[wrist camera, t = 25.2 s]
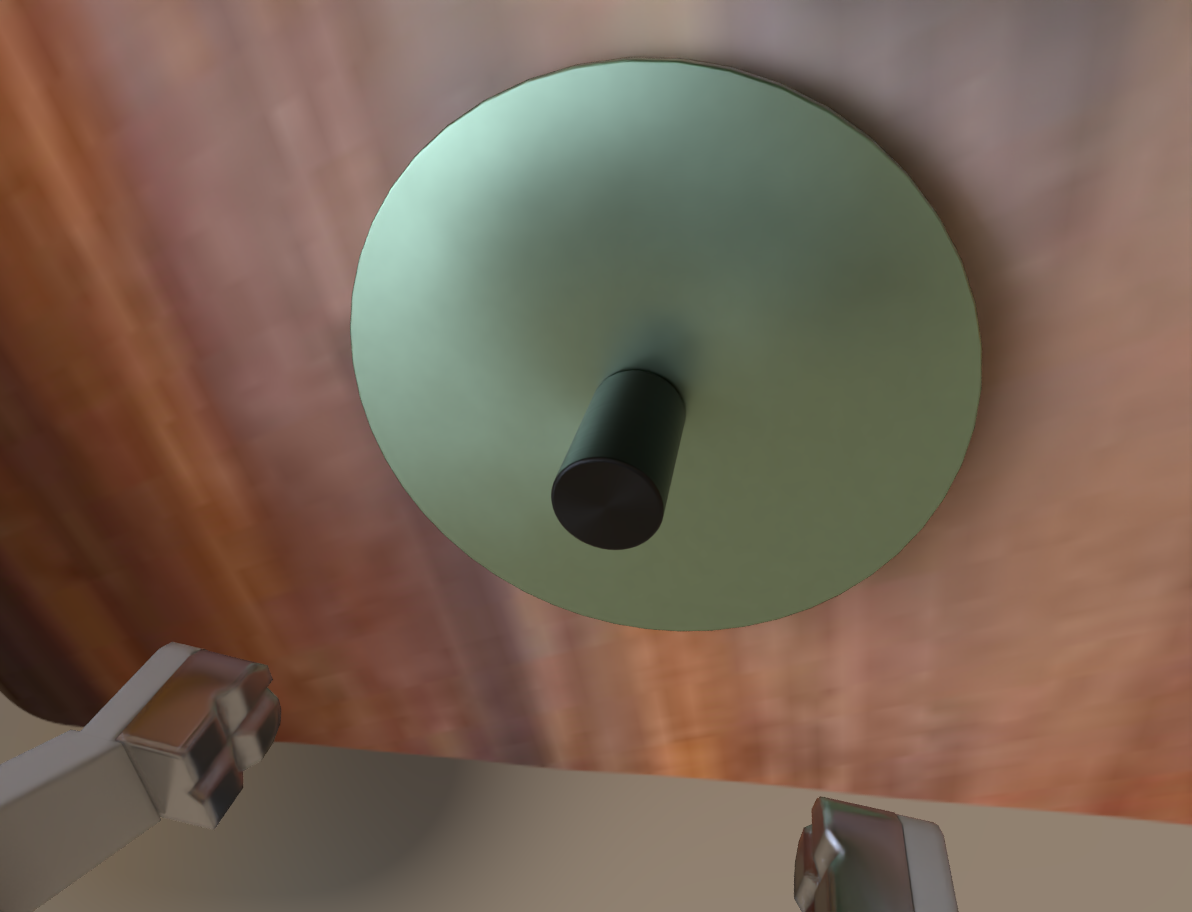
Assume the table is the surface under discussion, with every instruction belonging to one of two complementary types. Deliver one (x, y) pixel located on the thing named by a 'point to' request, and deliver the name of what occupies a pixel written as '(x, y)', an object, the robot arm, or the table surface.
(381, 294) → the lid
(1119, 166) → the table surface
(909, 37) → the table surface
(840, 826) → the robot arm
